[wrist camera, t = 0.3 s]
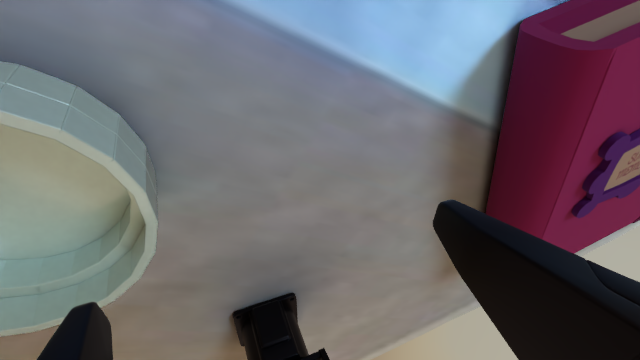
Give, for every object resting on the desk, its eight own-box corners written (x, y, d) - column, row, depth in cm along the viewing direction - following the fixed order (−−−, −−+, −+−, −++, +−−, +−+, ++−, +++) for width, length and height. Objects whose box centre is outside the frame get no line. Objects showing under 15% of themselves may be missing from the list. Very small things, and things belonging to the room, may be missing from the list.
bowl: (178, 233, 26) (184, 288, 22) (-59, 293, 22) (-99, 372, 18) (107, 36, 17) (97, 74, 13) (-320, 74, 13) (-504, 144, 9)
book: (471, 242, 44) (517, 291, 39) (505, 23, 25) (604, 58, 20) (601, 177, 47) (661, 214, 42) (721, -65, 28) (860, -56, 23)
